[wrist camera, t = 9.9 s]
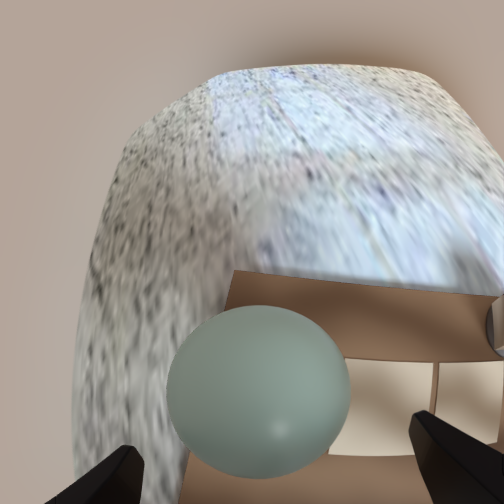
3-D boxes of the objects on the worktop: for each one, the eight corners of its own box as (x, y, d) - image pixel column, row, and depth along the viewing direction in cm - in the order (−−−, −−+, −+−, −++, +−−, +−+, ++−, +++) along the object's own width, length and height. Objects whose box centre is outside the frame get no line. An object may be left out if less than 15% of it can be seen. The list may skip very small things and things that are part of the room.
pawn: (334, 426, 14) (411, 462, 4) (246, 450, 14) (151, 518, 4) (309, 347, 17) (328, 236, 6) (225, 370, 17) (113, 299, 6)
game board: (491, 532, 6) (525, 545, 2) (175, 534, 11) (140, 560, 7) (520, 302, 15) (556, 274, 11) (236, 275, 21) (219, 235, 16)
